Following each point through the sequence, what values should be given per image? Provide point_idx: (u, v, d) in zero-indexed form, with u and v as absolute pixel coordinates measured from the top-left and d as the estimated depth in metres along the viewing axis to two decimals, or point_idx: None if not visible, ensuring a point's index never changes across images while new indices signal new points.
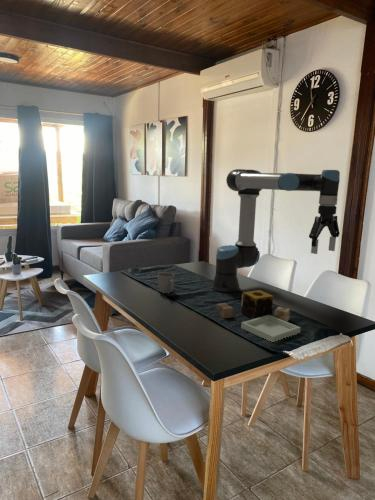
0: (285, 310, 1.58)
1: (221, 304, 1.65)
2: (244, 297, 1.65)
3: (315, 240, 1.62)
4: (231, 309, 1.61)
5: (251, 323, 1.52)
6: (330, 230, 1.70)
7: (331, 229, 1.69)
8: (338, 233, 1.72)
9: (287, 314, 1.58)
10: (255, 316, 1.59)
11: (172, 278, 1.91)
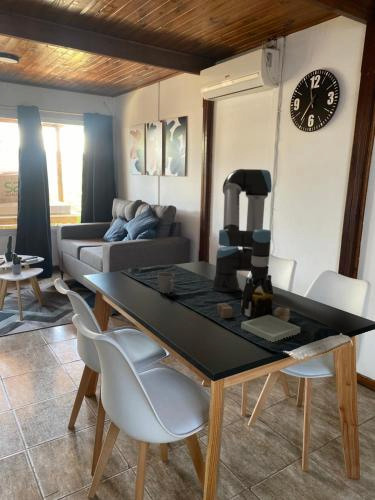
0: (285, 310, 1.58)
1: (221, 304, 1.66)
2: None
3: (248, 303, 1.59)
4: (230, 309, 1.61)
5: (251, 323, 1.52)
6: (263, 290, 1.66)
7: (264, 289, 1.65)
8: (272, 293, 1.67)
9: (287, 314, 1.58)
10: (255, 316, 1.59)
11: (172, 278, 1.91)
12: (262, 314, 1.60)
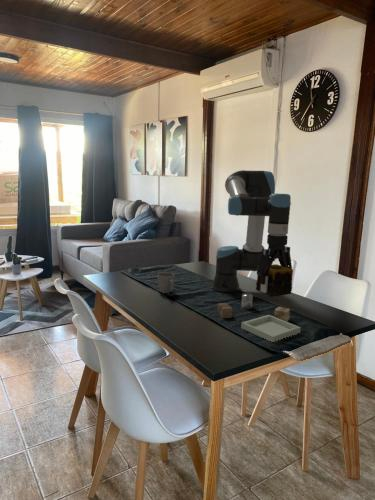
0: (285, 310, 1.58)
1: (222, 304, 1.66)
2: None
3: (264, 277, 1.40)
4: (230, 309, 1.61)
5: (251, 323, 1.52)
6: (281, 263, 1.46)
7: (282, 262, 1.46)
8: (290, 267, 1.48)
9: (287, 314, 1.58)
10: (273, 292, 1.39)
11: (172, 278, 1.91)
12: (280, 290, 1.41)
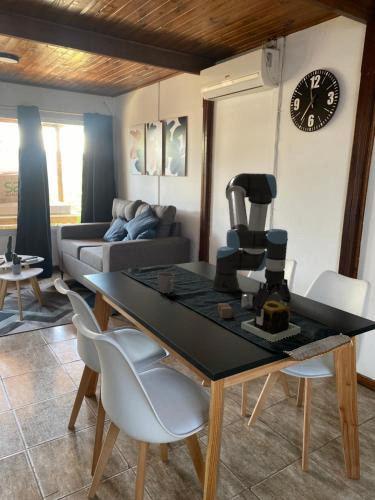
0: None
1: (222, 304, 1.66)
2: None
3: (260, 310, 1.42)
4: (230, 309, 1.61)
5: (251, 323, 1.52)
6: (280, 295, 1.49)
7: (280, 294, 1.48)
8: (289, 298, 1.51)
9: None
10: (270, 330, 1.42)
11: (172, 278, 1.91)
12: (278, 328, 1.44)
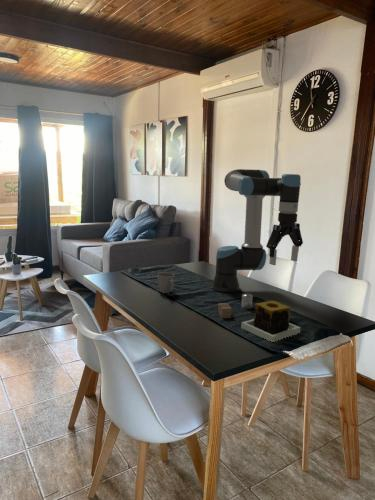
0: None
1: (222, 304, 1.66)
2: (257, 309, 1.48)
3: (273, 250, 1.50)
4: (229, 309, 1.61)
5: (251, 323, 1.52)
6: (292, 239, 1.57)
7: (293, 238, 1.56)
8: (301, 242, 1.59)
9: None
10: (270, 330, 1.42)
11: (172, 278, 1.91)
12: (278, 328, 1.44)
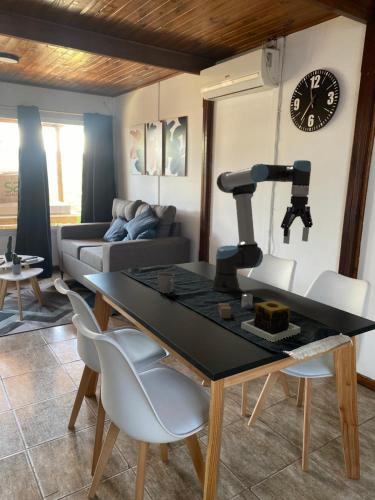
0: None
1: (222, 304, 1.66)
2: (257, 309, 1.48)
3: (287, 230, 1.64)
4: (229, 309, 1.61)
5: (251, 323, 1.52)
6: (303, 221, 1.72)
7: (304, 219, 1.71)
8: (311, 224, 1.73)
9: None
10: (270, 330, 1.42)
11: (172, 278, 1.91)
12: (278, 328, 1.44)
